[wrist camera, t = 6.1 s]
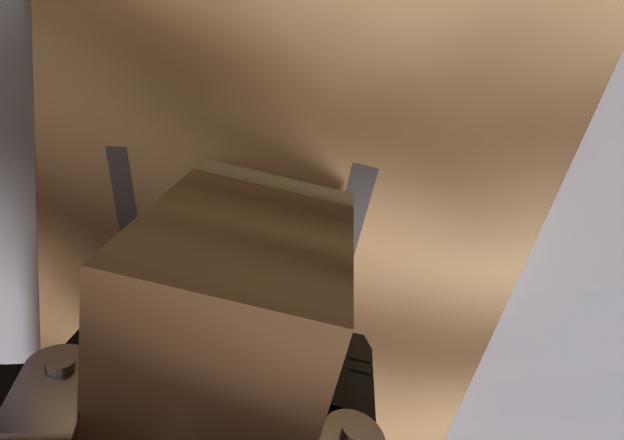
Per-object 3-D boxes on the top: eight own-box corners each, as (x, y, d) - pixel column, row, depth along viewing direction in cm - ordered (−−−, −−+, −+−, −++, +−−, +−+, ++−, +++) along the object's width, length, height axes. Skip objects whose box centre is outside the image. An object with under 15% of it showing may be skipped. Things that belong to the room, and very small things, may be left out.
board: (58, -258, 10) (22, -293, 9) (667, -113, 10) (706, -130, 9) (61, 472, 20) (44, 498, 19) (379, 545, 20) (381, 576, 19)
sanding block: (205, 157, 12) (80, 265, 7) (353, 193, 12) (353, 329, 7) (175, 387, 15) (72, 592, 10) (292, 415, 15) (258, 635, 10)
